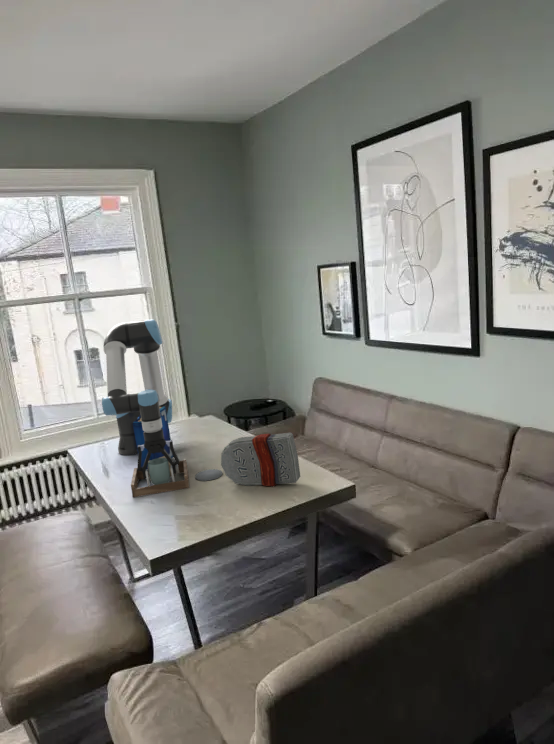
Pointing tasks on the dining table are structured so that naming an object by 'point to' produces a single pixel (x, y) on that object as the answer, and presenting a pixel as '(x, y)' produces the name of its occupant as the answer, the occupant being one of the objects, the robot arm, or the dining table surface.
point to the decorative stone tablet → (261, 460)
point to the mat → (208, 475)
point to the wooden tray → (160, 487)
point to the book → (140, 440)
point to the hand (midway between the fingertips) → (161, 483)
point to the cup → (159, 471)
